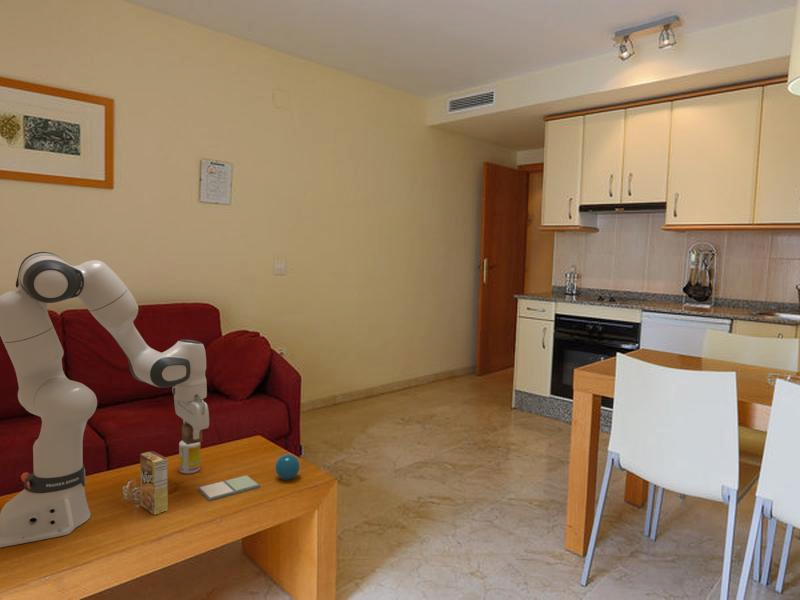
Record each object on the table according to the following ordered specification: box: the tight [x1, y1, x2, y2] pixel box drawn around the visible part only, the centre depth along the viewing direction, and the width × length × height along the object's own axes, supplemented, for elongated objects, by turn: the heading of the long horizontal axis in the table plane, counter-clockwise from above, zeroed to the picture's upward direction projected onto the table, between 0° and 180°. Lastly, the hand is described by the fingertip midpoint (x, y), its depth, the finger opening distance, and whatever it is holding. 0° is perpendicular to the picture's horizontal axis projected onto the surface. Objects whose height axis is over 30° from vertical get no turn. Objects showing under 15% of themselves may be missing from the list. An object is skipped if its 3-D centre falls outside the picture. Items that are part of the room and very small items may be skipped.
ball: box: [274, 453, 301, 481], centre depth 175 cm, size 8×8×8 cm
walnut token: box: [181, 423, 203, 445], centre depth 165 cm, size 4×4×5 cm
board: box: [197, 474, 261, 502], centre depth 167 cm, size 16×10×1 cm, turn 130°
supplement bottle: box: [178, 440, 202, 475], centre depth 179 cm, size 7×7×13 cm
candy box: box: [139, 450, 169, 516], centre depth 152 cm, size 9×4×15 cm, turn 50°
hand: (192, 435), depth 165 cm, fingers closed on walnut token, 4 cm apart
